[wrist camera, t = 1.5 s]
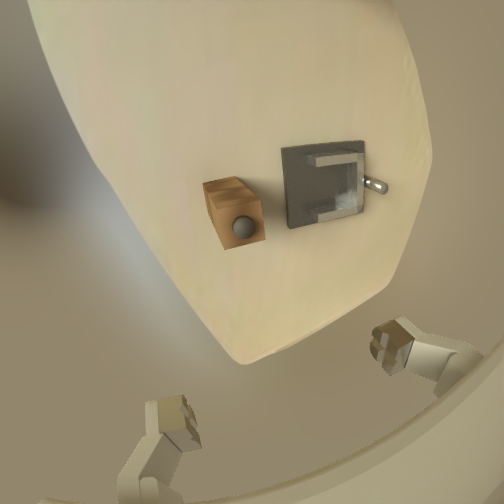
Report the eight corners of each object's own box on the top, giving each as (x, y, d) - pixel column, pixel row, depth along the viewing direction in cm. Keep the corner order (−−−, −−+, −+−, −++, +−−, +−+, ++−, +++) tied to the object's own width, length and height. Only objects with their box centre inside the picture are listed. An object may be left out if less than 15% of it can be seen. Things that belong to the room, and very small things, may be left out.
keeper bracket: (287, 227, 48) (308, 246, 41) (280, 148, 41) (303, 155, 34) (360, 210, 51) (386, 225, 44) (360, 140, 44) (390, 147, 37)
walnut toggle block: (208, 213, 43) (226, 254, 31) (202, 183, 40) (218, 213, 28) (238, 206, 44) (268, 243, 32) (234, 176, 41) (264, 203, 29)
